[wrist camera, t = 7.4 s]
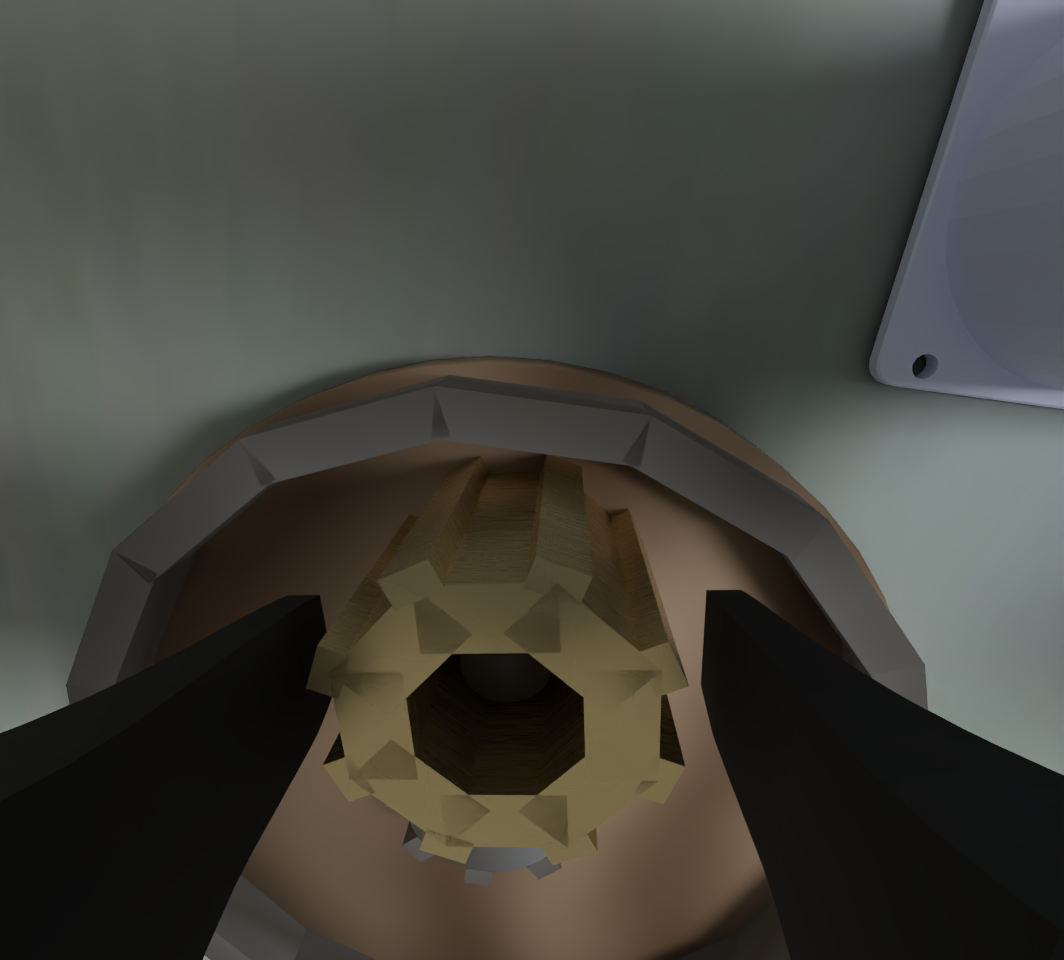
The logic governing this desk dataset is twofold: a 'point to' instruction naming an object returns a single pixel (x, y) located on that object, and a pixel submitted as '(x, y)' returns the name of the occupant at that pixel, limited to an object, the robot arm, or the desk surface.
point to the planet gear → (505, 627)
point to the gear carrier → (492, 655)
